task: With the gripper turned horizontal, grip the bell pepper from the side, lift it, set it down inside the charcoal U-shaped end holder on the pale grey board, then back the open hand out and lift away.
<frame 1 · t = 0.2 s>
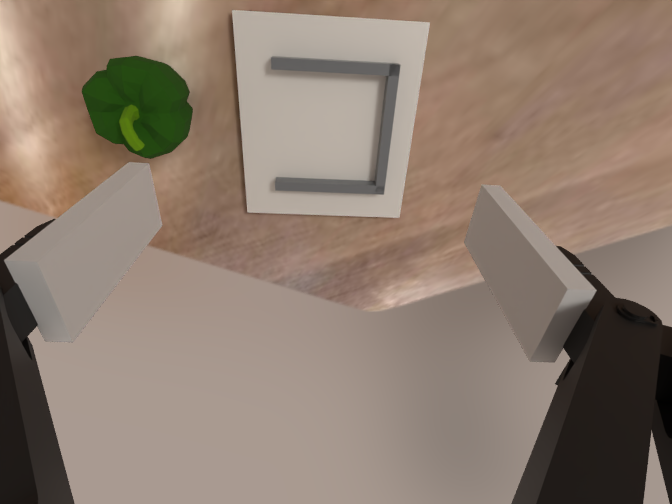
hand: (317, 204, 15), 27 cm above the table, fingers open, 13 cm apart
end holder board: (327, 126, 40), on the table
bell pepper: (163, 97, 39), on the table
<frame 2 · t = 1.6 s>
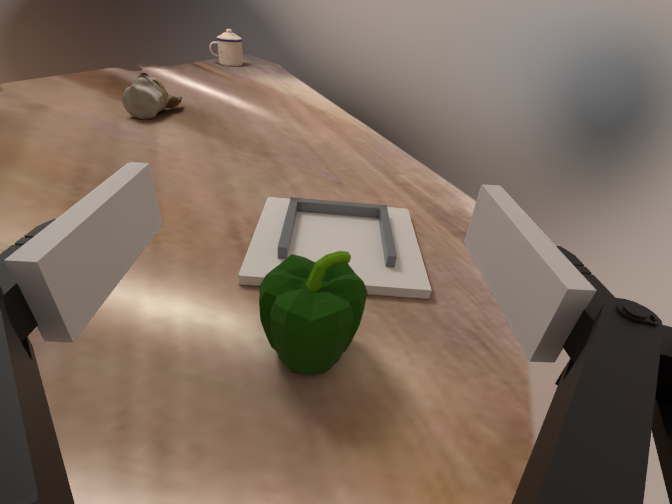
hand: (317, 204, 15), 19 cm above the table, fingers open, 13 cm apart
garlic bulb: (152, 114, 85), on the table
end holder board: (336, 244, 47), on the table
teacup with lid: (227, 64, 144), on the table
bell pepper: (309, 351, 33), on the table
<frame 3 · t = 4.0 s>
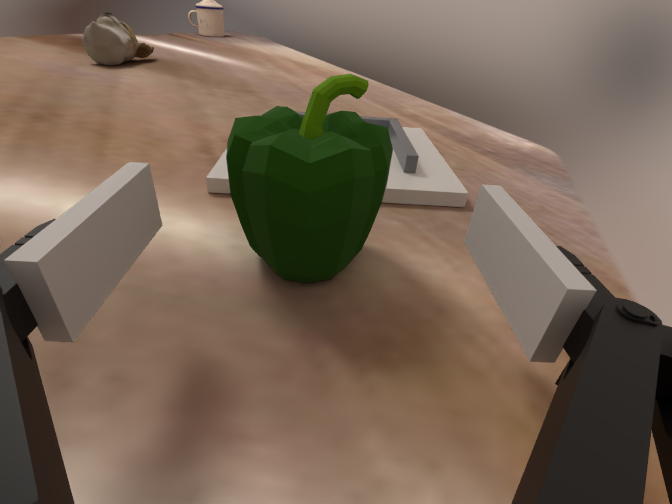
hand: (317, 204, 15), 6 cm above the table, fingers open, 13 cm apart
garlic bulb: (119, 63, 75), on the table
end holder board: (336, 159, 37), on the table
teacup with lid: (208, 36, 134), on the table
bell pepper: (307, 259, 23), on the table
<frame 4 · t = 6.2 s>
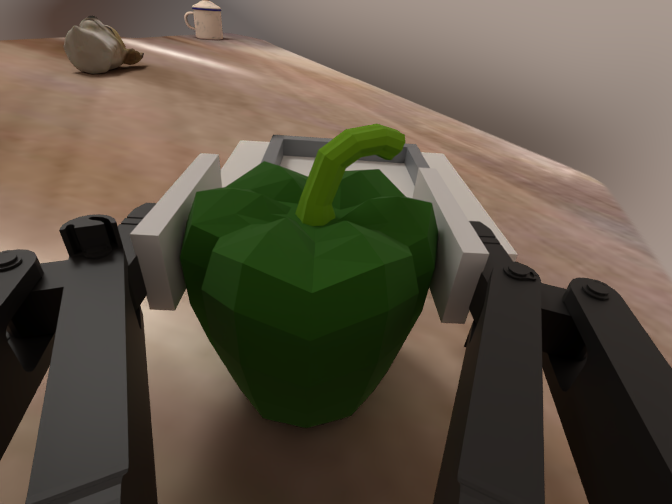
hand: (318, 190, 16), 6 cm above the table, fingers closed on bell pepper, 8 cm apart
garlic bulb: (106, 71, 69), on the table
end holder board: (344, 197, 30), on the table
teacup with lid: (205, 39, 127), on the table
bell pepper: (309, 371, 16), on the table, touching gripper
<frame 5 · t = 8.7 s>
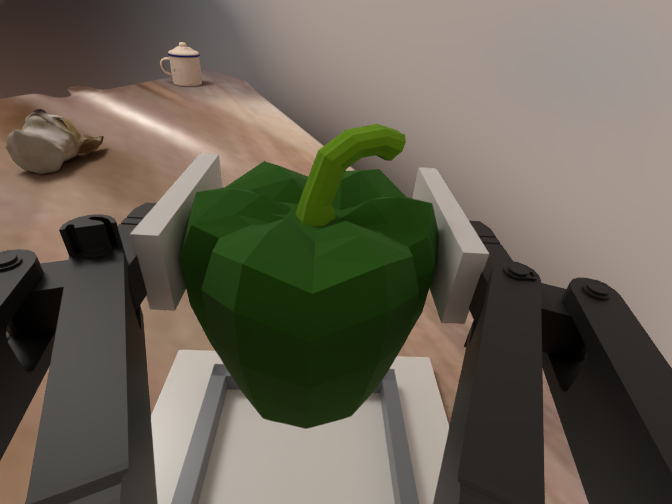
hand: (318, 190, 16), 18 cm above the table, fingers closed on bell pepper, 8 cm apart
garlic bulb: (59, 163, 62), on the table
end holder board: (299, 479, 23), on the table
teacup with lid: (183, 84, 120), on the table
bell pepper: (309, 372, 16), point 12 cm above the table, touching gripper
when the fingers open (9 cm above the table, at t = 11.5 s): bell pepper drops 1 cm, resting on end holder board.
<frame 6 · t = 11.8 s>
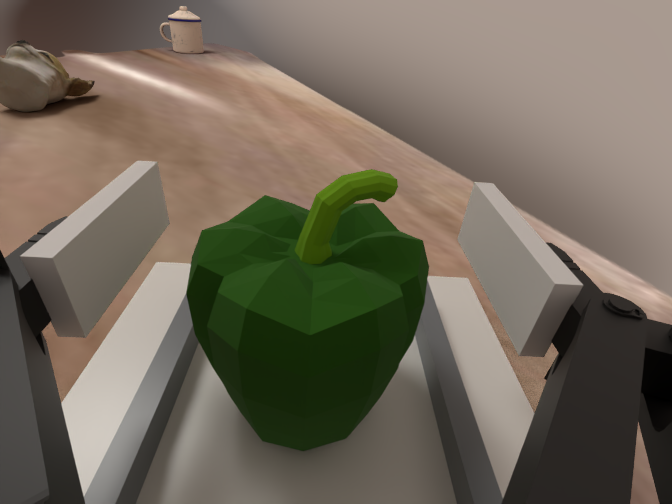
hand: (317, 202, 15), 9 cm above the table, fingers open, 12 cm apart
garlic bulb: (45, 105, 57), on the table
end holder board: (307, 406, 17), on the table
teacup with lid: (184, 52, 115), on the table
bell pepper: (306, 393, 17), point 1 cm above the table, touching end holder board
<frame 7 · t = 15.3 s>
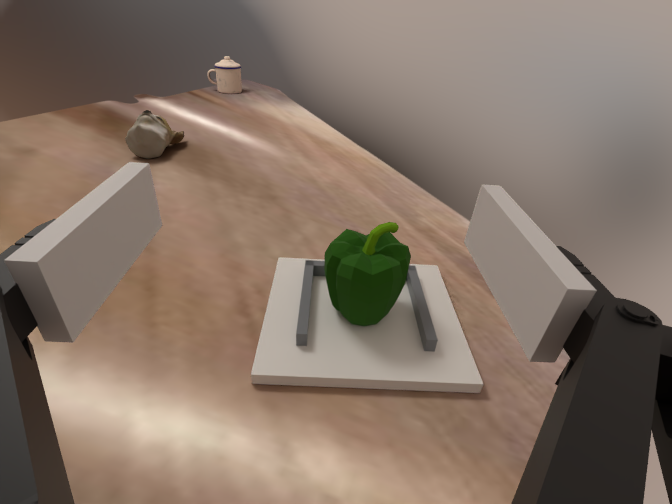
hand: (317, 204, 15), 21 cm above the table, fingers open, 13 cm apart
garlic bulb: (155, 151, 81), on the table
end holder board: (361, 317, 40), on the table
teacup with lid: (226, 92, 139), on the table
bell pepper: (361, 310, 40), point 1 cm above the table, touching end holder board
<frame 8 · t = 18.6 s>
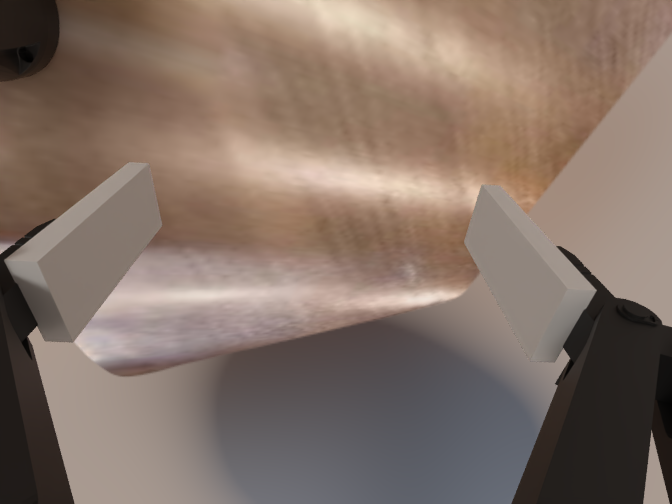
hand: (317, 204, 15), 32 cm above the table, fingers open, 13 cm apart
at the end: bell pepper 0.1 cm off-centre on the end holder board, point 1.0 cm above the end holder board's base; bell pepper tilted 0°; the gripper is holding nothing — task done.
